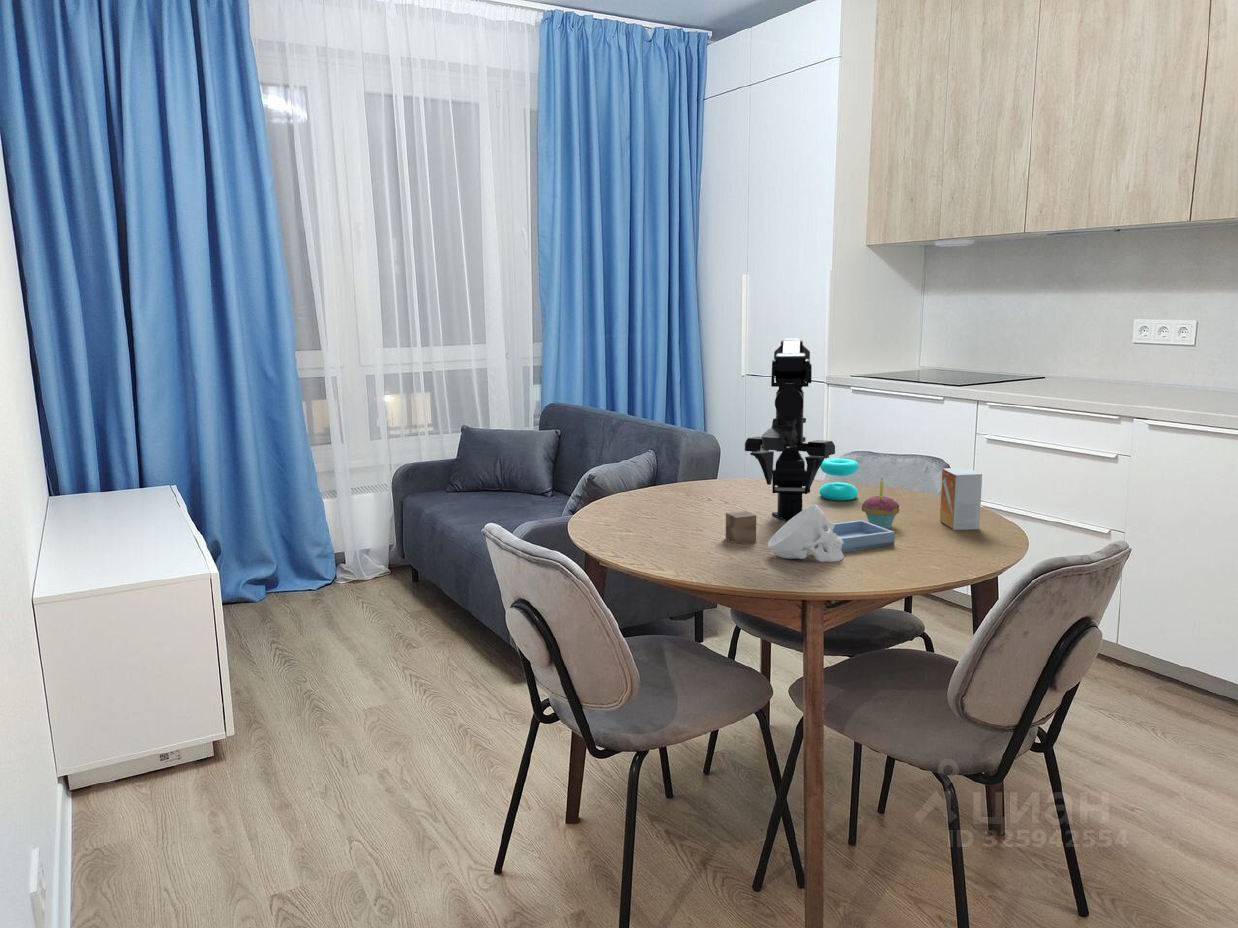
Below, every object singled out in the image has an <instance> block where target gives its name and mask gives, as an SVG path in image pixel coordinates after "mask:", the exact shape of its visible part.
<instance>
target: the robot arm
mask: <svg viewBox="0 0 1238 928" xmlns="http://www.w3.org/2000/svg"><path fill="white" fill-rule="evenodd" d="M810 359H811V351H810V350H809V349H808V347H806V346H804V339H800V338H783V339H781V340H780V345H779V347H778V348H777V349H775V350H774V352H773V359H772V360H771V380H770V381H771V383H770V386H771V387H772V388H775V387H776V388H778V389H777V391H776V392H775V393H776V394H775V396H776V397H775V399H774V407H775V418H773V419H772V422H771V424H772V425H771V427H770V428H768V429H767V430H766V431H765V432H764V433H763V434H762V435H761V436H754V437H753V436H752V437H748V438H747V439H746V440H745V441H744V452H749V454H750V456H754V458H755V459H756V460H757V461H758V463H759V466H760V468H761V470H762V474H763V476H764V479H765V481H766V485H768V486H770V485H772V494H777V511H776V512H773V511H772V512H771V515H772V516H775V517H776V518H778V519H782V520H784V521H789V520H790V519H792V518H793V517H794V516H796V515H797V514H798V513H800V512H801V511H803V494H804V495H808V494H810V493H811V486H812V484H813V482H814V480H815V478H816V476H817V473H818V471H819V469H820V466H821V464H822V462H823V461H824V460H827V459H830V456H832V455H836V445H835V442H833V440H824V439H823V440H820V439H817V440H811V441H808V442H806V439H807V438H806V436H804V424H805V423H807V418H806V417H804V400H805V399H804V397H805V395H804V394H805V393H804V390H803V388H807V387H809V384H812V379H813V378H812V372H813V371H812V369H813V368H812V366H813V365H812V363H811V360H810ZM775 452H778V453H780V454H779V456H777V459H776V461H775V468H774V458H775V457H774V456H775V455H774V453H775ZM801 452H806V454H808V456H804V458H803V456H802V454H801Z"/></svg>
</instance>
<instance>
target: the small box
mask: <svg viewBox="0 0 1238 928" xmlns="http://www.w3.org/2000/svg"><path fill="white" fill-rule="evenodd" d="M941 470H942V472H941V473H942V475H941V491H940V492H941V493H940V511H939V521H940V522H941V523H942V524H943V525H945V526H947V527H948V528H950V529H952V530H953V531H962V530H963V531H965V530H966V531H968V530H972V531H973V530H980V526H981V525H980V524H981V523H980V521H981V505H982V504H981V502H982V486H983V485H982V484H983V483H982V481H983V474H982V473H980V472H977V471H976V470H973V469H972V468H969V467H949V468H948V467H947V468H942V469H941Z"/></svg>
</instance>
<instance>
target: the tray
mask: <svg viewBox="0 0 1238 928" xmlns="http://www.w3.org/2000/svg"><path fill="white" fill-rule="evenodd" d="M833 523H834V522H833ZM834 524H836V525H835V526H834V528H833V533H836V534H837V536H838V537H839V538H841V539H842V540H843V542H844V544H842V548H841V551H842V553H848V552H855V551H862V550H872V549H877V548H885V547H893V546H895V539H896V537H895V534H896V532H895V531H893V530H890V529H889V528H888V529H885V528H883V527H880V526H877V525H875V524H872V523H869V521H866V520H864V519H861V520H852V521H844V522H843V521H842V522H835V523H834Z"/></svg>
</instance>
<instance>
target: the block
mask: <svg viewBox="0 0 1238 928" xmlns="http://www.w3.org/2000/svg"><path fill="white" fill-rule="evenodd" d="M726 538H727V539H726ZM725 539H726V540H728V539H729V540H730V542H731V541H733V542H734V544H735V543H736V544H735V545H739V544H738V543H740V544H746V543H745V542H748V543H755V542H754V541H756V542H757V515H756V514H754V513H753V512H749V511H747V510H739V511H729V512H725ZM729 540H728V541H729ZM733 542H732V543H733Z"/></svg>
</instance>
